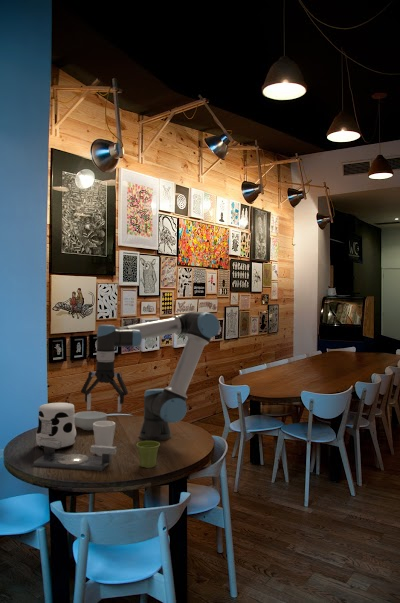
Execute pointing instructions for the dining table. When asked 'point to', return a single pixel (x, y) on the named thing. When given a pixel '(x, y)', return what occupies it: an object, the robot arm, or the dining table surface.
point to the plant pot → (148, 453)
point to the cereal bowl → (88, 419)
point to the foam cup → (104, 433)
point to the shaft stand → (74, 457)
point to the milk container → (57, 423)
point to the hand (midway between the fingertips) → (104, 410)
